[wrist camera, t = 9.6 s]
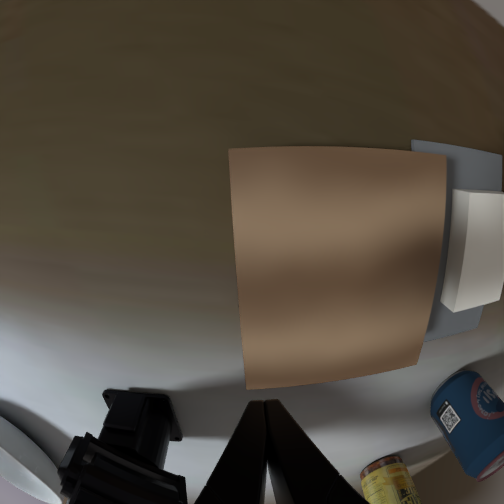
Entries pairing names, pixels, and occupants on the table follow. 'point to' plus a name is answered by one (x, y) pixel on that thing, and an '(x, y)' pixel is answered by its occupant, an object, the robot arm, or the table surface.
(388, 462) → the sauce bottle
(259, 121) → the table surface
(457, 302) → the white rectangular block
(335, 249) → the tan square plate
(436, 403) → the soda can
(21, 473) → the serving bowl
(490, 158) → the mat
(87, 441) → the robot arm
